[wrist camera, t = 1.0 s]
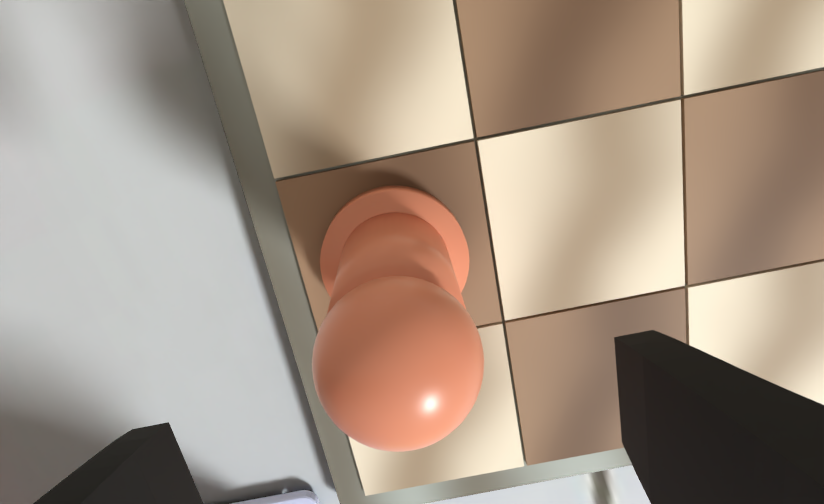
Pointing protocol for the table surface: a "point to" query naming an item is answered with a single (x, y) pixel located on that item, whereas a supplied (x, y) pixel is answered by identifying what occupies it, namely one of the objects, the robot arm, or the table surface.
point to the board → (542, 196)
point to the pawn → (396, 322)
